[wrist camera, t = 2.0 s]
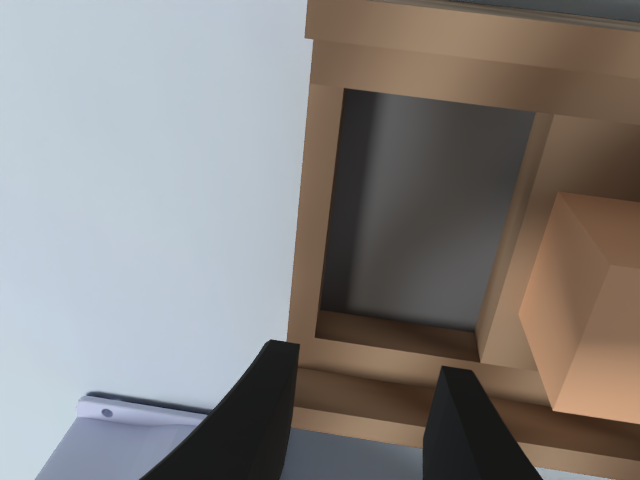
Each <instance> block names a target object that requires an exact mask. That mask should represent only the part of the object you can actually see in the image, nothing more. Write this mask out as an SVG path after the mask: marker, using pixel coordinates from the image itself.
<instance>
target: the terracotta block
mask: <svg viewBox="0 0 640 480" xmlns="http://www.w3.org/2000/svg"><path fill="white" fill-rule="evenodd" d="M518 315H519V318H520V321H521V323H522V326H523V329H524V332H525V334H526V337H527V340H528V343H529V346H530V348H531V351H532V354H533V357H534V360H535V362H536V365H537V368H538V371H539V374H540V376H541V379H542V382H543V385H544V388H545V390H546V393H547V396H548V399H549V402H550V404H551V407H552V410H553V411H558V412H564V413H571V414H577V415H584V416H590V417H597V418H603V419H610V420H616V421H623V422H629V423H636V424H640V202H633V201H626V200H618V199H611V198H603V197H596V196H588V195H581V194H573V193H566V192H557V196H556V199H555V202H554V205H553V208H552V211H551V214H550V217H549V220H548V223H547V227H546V230H545V233H544V236H543V239H542V242H541V245H540V248H539V251H538V255H537V258H536V261H535V264H534V267H533V270H532V273H531V276H530V279H529V283H528V286H527V289H526V292H525V295H524V298H523V301H522V304H521V307H520V310H519V314H518Z"/></svg>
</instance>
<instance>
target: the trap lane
mask: <svg viewBox="0 0 640 480" xmlns="http://www.w3.org/2000/svg"><path fill="white" fill-rule="evenodd" d="M305 38H308V39H314V40H313V51H312V62H311V74H310V85H309V96H308V107H307V119H306V130H305V141H304V152H303V163H302V175H301V186H300V197H299V208H298V220H297V231H296V242H295V253H294V265H293V276H292V287H291V298H290V309H289V321H288V332H287V342H291V343H297V344H300V350H299V360H298V370H297V379H296V389H295V399H294V408H293V418H292V423H291V428H297V429H303V430H309V431H316V432H322V433H328V434H334V435H341V436H347V437H353V438H359V439H366V440H372V441H378V442H384V443H391V444H397V445H403V446H409V447H416V448H422V449H423V436H424V432H425V428H426V424H427V420H428V416H429V412H430V408H431V405H432V401H433V397H434V393H435V389H436V385H437V381H438V377H439V373H440V370H441V366H449V367H455V368H462V369H469V370H472V371H473V372H474V373H475V375H476V376H477V378H478V380H479V381H480V383H481V385H482V386H483V388H484V390H485V392H486V393H487V395H488V397H489V398H490V400H491V402H492V403H493V405H494V407H495V408H496V410H497V412H498V413H499V415H500V416H501V418H502V420H503V421H504V423H505V424H506V426H507V428H508V429H509V431H510V432H511V434H512V435H513V437H514V438H515V440H516V441H517V443H518V444H519V446H520V447H521V449H522V450H523V452H524V453H525V455H526V456H527V458H528V459H529V461H530V462H531V463H532V465H533V466H534V467H541V468H547V469H553V470H559V471H565V472H572V473H578V474H584V475H590V476H597V477H603V478H609V479H615V480H640V424H636V423H629V422H623V421H616V420H610V419H603V418H597V417H590V416H584V415H577V414H571V413H564V412H558V411H553V410H552V407H551V404H550V402H549V399H548V396H547V393H546V390H545V388H544V385H543V382H542V379H541V376H540V374H539V371H538V368H537V365H536V362H535V360H534V357H533V354H532V351H531V348H530V346H529V343H528V340H527V337H526V334H525V332H524V329H523V326H522V323H521V321H520V318H519V315H518V314H519V310H520V307H521V304H522V301H523V298H524V295H525V292H526V289H527V286H528V283H529V279H530V276H531V273H532V270H533V267H534V264H535V261H536V258H537V255H538V251H539V248H540V245H541V242H542V239H543V236H544V233H545V230H546V227H547V223H548V220H549V217H550V214H551V211H552V208H553V205H554V202H555V199H556V196H557V192H566V193H573V194H581V195H588V196H596V197H603V198H611V199H618V200H626V201H633V202H640V22H633V21H624V20H616V19H607V18H599V17H590V16H581V15H573V14H564V13H555V12H547V11H538V10H529V9H521V8H512V7H503V6H495V5H486V4H477V3H469V2H460V1H451V0H308V2H307V15H306V27H305Z"/></svg>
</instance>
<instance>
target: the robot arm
mask: <svg viewBox="0 0 640 480" xmlns="http://www.w3.org/2000/svg"><path fill="white" fill-rule="evenodd" d="M299 350H300V344H297V343H291V342H284V341H277V340H270V341H268V342H266V343H265V344H264V346H263V348H262V349H261V351H260V352H259V354H258V355H257V357H256V358H255V360H254V361H253V362H252V364H251V365H250V366H249V368H248V369H247V370H246V372H245V373H244V374H243V375H242V377H241V378H240V379H239V380H238V382H237V383H236V384H235V385H234V386H233V388H232V389H231V390H230V391H229V392H228V393H227V395H226V396H225V397H224V398H223V399H222V400H221V402H220V403H219V404H218V405H217V406H216V407H215V408H214V409H213V410H212V412H211V413H210V414H209V415H204V414H198V413H192V412H186V411H179V410H173V409H167V408H161V407H154V406H148V405H142V404H136V403H129V402H123V401H117V400H111V399H105V398H98V397H92V396H83V397H81V398H80V399H79V401H78V402H77V404H76V412H77V418H76V420H75V421H74V423H73V424H72V426H71V427H70V429H69V430H68V431H67V433H66V434H65V436H64V437H63V439H62V440H61V442H60V443H59V445H58V446H57V448H56V449H55V451H54V452H53V453H52V455H51V456H50V458H49V459H48V461H47V462H46V464H45V465H44V467H43V468H42V470H41V471H40V473H39V474H38V475H37V477H36V478H35V480H279V479H280V475H281V472H282V468H283V465H284V460H285V455H286V450H287V445H288V439H289V434H290V429H291V423H292V418H293V408H294V399H295V389H296V379H297V370H298V360H299ZM108 409H109V410H108ZM110 410H111V411H110ZM423 480H543V479H542V477H541V476H540V475H539V473H538V472H537V470H536V469H535V468H534V466H533V465H532V463H531V462H530V461H529V459H528V458H527V456H526V455H525V453H524V452H523V450H522V449H521V447H520V446H519V444H518V443H517V441H516V440H515V438H514V437H513V435H512V434H511V432H510V431H509V429H508V428H507V426H506V424H505V423H504V421H503V420H502V418H501V416H500V415H499V413H498V412H497V410H496V408H495V407H494V405H493V403H492V402H491V400H490V398H489V397H488V395H487V393H486V392H485V390H484V388H483V386H482V385H481V383H480V381H479V380H478V378H477V376H476V375H475V373H474V372H473V371H472V370H469V369H462V368H455V367H449V366H441V370H440V373H439V377H438V381H437V385H436V389H435V393H434V397H433V401H432V405H431V408H430V412H429V416H428V420H427V424H426V428H425V432H424V436H423Z"/></svg>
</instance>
